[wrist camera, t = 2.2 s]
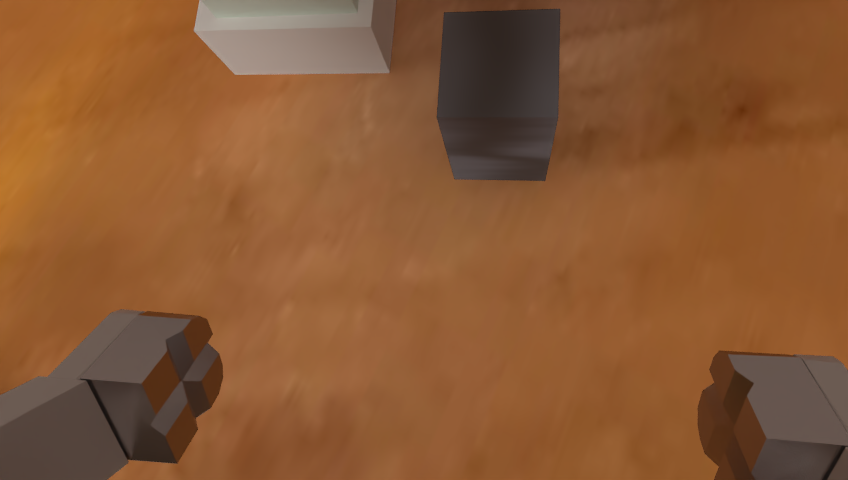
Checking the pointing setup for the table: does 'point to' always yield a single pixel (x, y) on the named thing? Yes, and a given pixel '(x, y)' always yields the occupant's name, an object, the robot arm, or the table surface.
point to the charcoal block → (499, 92)
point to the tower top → (278, 7)
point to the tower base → (303, 41)
